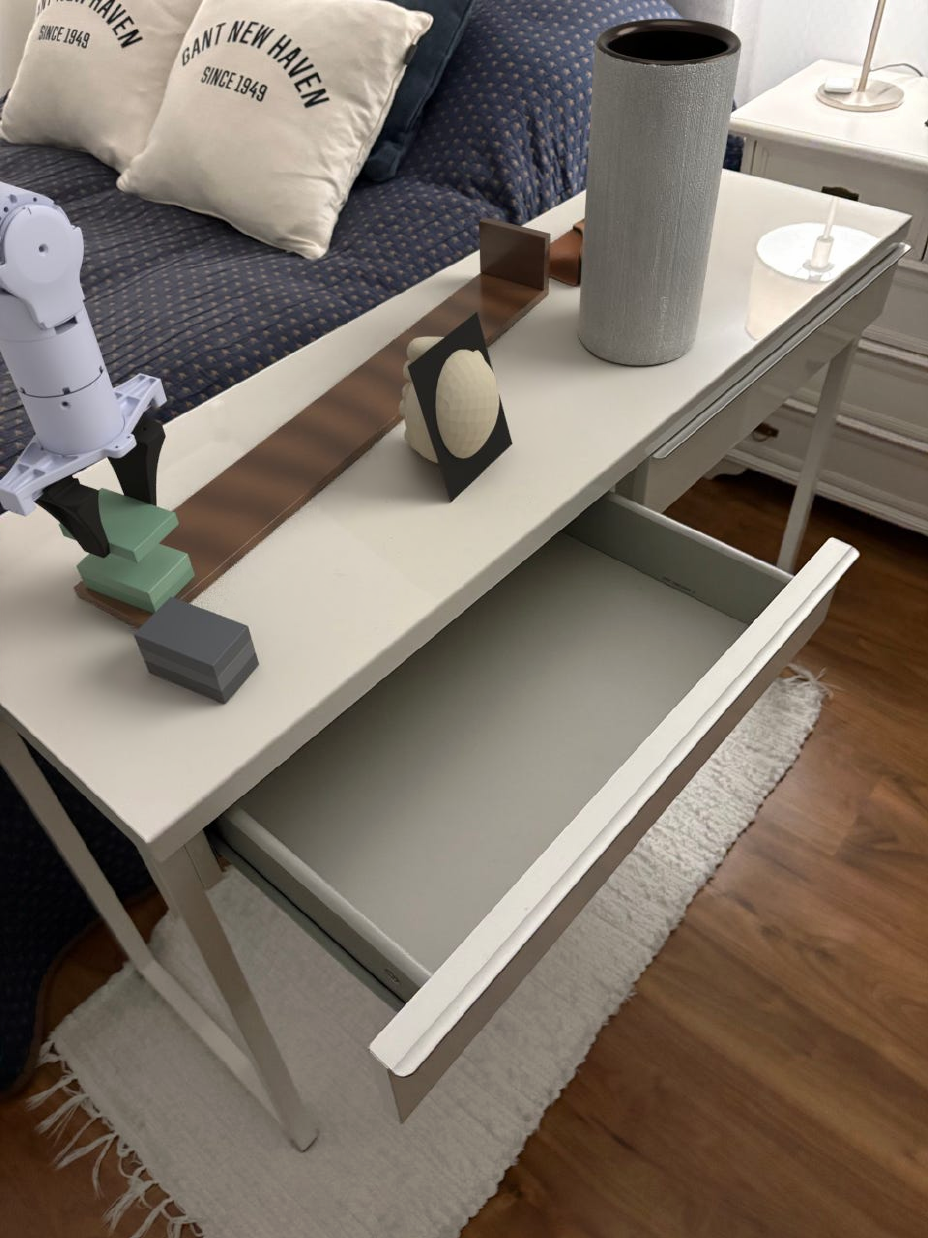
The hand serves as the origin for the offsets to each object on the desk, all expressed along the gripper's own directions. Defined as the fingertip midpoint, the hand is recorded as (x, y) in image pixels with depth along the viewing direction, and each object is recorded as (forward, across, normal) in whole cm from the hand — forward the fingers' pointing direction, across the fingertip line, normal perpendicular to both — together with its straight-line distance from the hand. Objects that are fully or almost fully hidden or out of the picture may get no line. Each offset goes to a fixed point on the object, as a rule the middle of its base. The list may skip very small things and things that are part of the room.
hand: (121, 530), depth 73 cm
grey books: (+6, -5, -10) cm, 12 cm away
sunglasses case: (+7, +69, -12) cm, 70 cm away
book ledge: (+6, +27, -3) cm, 28 cm away
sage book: (0, 0, 0) cm, 0 cm away
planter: (+7, +52, -23) cm, 57 cm away
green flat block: (+5, 0, 0) cm, 5 cm away
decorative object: (+7, +25, -14) cm, 30 cm away
